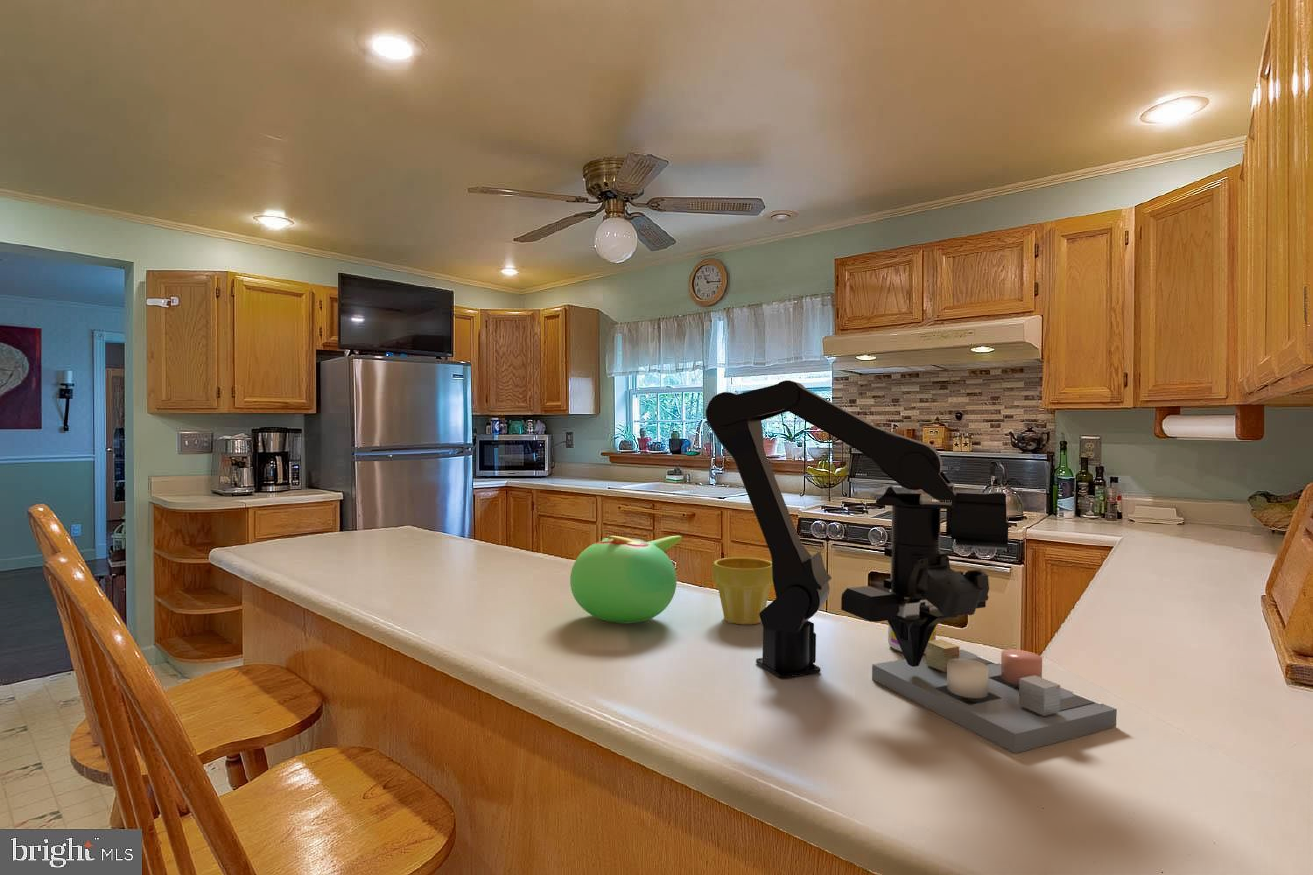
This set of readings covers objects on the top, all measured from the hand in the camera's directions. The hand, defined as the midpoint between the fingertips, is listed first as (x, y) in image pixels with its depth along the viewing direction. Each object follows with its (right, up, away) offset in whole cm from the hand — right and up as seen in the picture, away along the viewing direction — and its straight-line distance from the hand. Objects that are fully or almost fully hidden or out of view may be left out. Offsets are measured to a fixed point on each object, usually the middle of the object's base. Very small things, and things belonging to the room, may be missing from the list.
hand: (913, 665), depth 83 cm
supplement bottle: (+6, -3, +16) cm, 17 cm away
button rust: (+12, -1, -2) cm, 13 cm away
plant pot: (-18, -3, +30) cm, 34 cm away
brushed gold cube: (+5, -1, +2) cm, 5 cm away
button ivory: (+4, -1, -6) cm, 7 cm away
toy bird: (-38, -2, +28) cm, 47 cm away
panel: (+7, -3, -3) cm, 9 cm away
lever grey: (+10, -1, -10) cm, 14 cm away
